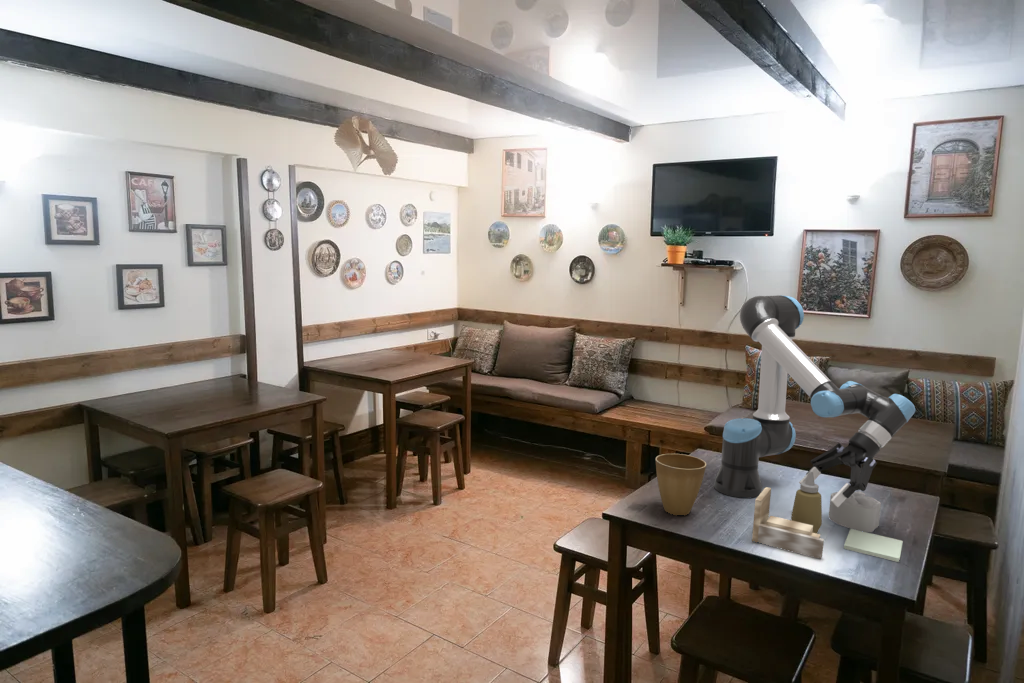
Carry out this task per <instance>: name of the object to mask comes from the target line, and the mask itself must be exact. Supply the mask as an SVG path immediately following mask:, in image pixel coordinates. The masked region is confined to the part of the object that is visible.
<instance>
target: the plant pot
mask: <svg viewBox="0 0 1024 683" xmlns="http://www.w3.org/2000/svg"><path fill="white" fill-rule="evenodd" d="M706 468H707V462H706V461H705V460H703V459H702V458H699V457H697V456H693V455H689V454H683V453H681V454H680V453H665V454H659V455H657V456H656V457H655V469H656V470H655V471H656V478H657V485H658V491H659V494H660V499H661V502H662V506H663V509H664V512H666V513H667V512H668V514H669V513H670V514H669V515H672V514H673V515H672V516H677V515H684V516H688V515H689V514H690V513H691V511H692V509H693V506H694V504H695V502H696V499H697V497H698V495H699V492H700V489H701V486H702V484H703V481H704V476H705V472H706ZM687 514H688V515H687Z"/></svg>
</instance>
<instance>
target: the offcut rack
mask: <svg viewBox="0 0 1024 683" xmlns="http://www.w3.org/2000/svg"><path fill="white" fill-rule="evenodd" d="M771 494H772V487H764V488H763V489H762V492H761V493H760V495H759V496H757V497H755V500H754V501H755V502H754V512H753V523H752V524H753V526H752V536H751V537H752V538H751V541H752V542H753V541H755V542H754V543H757V542H759V543H758V544H760V543H762V544H761V545H764V544H766V545H765V546H768V545H769V547H772V546H773V547H772V548H776V547H778V548H777V549H780V548H782V549H781V550H784V549H785V550H784V551H788V550H789V551H788V552H791V551H793V552H792V553H796V554H800V555H804V556H808V557H811V558H815V559H819V560H822V558H823V552H824V543H825V542H824V540H825V539H824V538H821V533H817V534H816V533H812V532H813V525H809V524H804V523H800V522H796V521H792V520H791V519H786V518H782V517H779V516H778V517H777V516H773V515H770V508H771V507H770V506H771Z"/></svg>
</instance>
